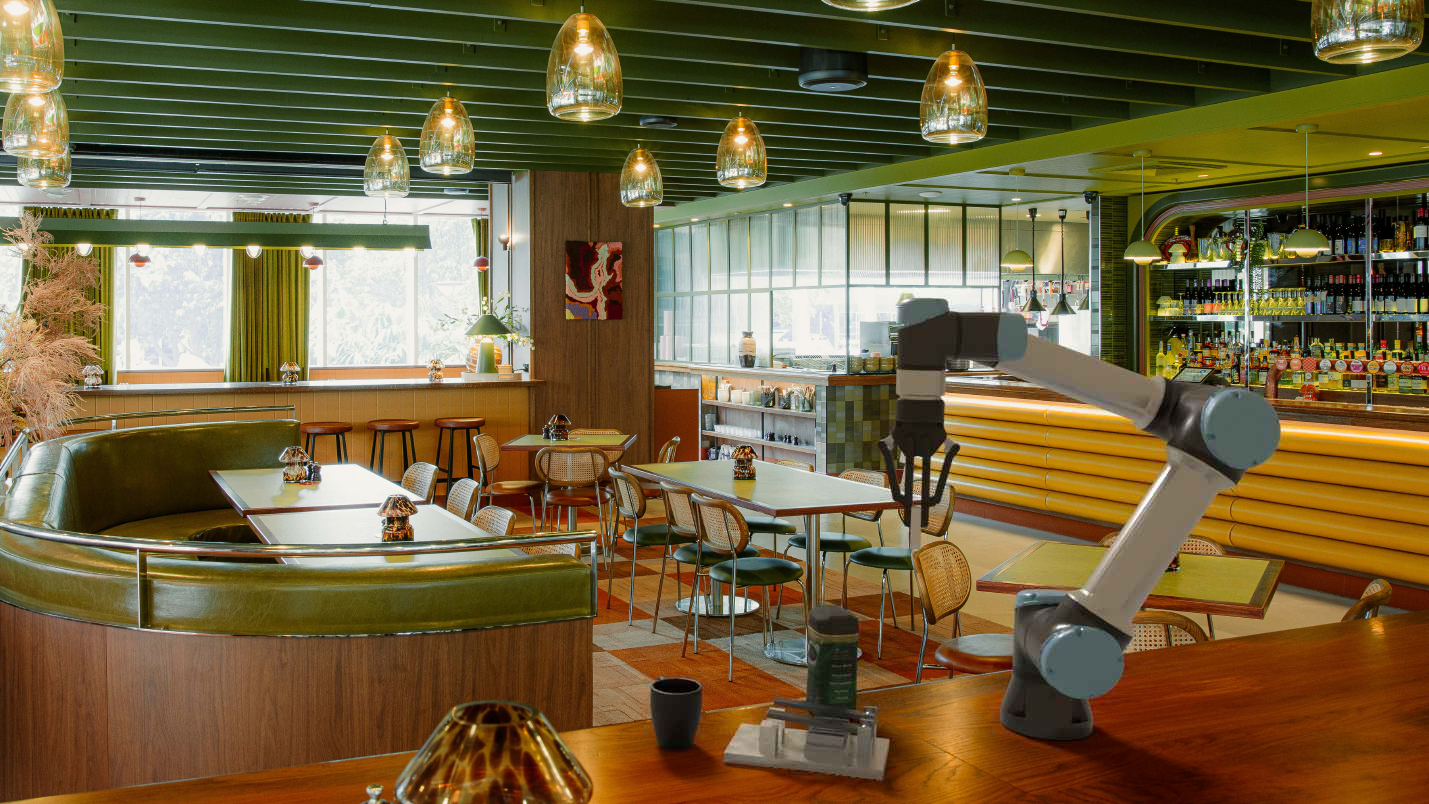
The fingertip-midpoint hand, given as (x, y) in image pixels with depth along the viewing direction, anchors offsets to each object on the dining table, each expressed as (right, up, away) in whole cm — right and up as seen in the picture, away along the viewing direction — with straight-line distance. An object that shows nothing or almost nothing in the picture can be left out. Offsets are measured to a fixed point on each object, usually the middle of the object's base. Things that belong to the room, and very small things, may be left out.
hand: (915, 547), depth 171 cm
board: (-17, -32, -1) cm, 36 cm away
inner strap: (-14, -26, +1) cm, 30 cm away
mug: (-38, -32, +4) cm, 50 cm away
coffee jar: (-11, -31, +18) cm, 38 cm away
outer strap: (-16, -27, -5) cm, 31 cm away
